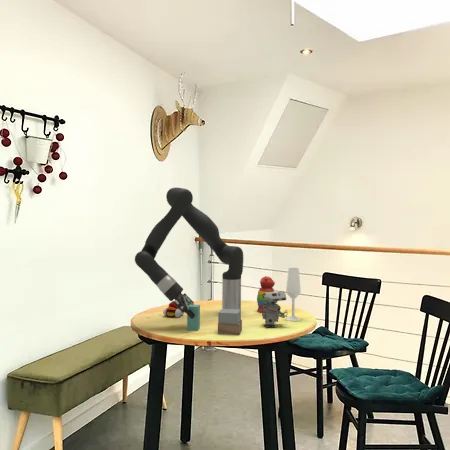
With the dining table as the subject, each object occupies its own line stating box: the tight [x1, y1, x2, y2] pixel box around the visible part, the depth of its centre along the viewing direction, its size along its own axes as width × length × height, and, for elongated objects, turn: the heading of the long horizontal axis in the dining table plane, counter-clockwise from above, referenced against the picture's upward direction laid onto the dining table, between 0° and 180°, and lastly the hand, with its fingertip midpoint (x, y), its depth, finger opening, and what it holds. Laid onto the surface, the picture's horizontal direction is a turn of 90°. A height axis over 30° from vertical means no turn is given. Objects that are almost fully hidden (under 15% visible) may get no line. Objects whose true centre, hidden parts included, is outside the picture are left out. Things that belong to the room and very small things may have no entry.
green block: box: [186, 304, 201, 331], centre depth 202 cm, size 5×5×10 cm
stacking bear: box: [256, 275, 276, 314], centre depth 240 cm, size 11×10×18 cm
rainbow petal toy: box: [162, 300, 185, 318], centre depth 228 cm, size 8×10×7 cm
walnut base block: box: [217, 319, 243, 336], centre depth 198 cm, size 9×9×4 cm
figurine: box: [261, 290, 288, 329], centre depth 210 cm, size 9×12×15 cm
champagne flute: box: [285, 267, 301, 322], centre depth 222 cm, size 7×7×24 cm
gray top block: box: [217, 308, 242, 324], centre depth 198 cm, size 8×8×4 cm
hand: (195, 315), depth 202 cm, fingers open, 8 cm apart
